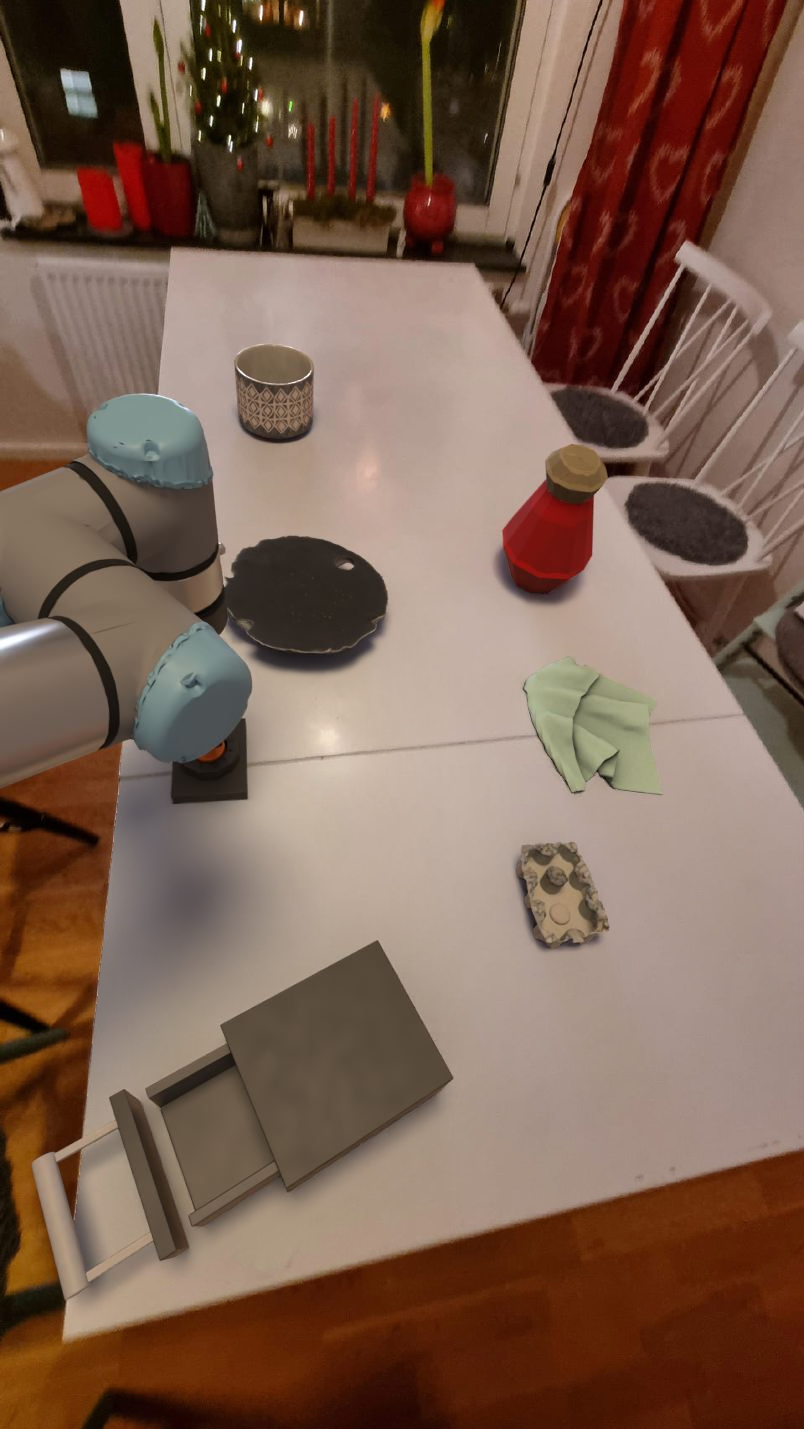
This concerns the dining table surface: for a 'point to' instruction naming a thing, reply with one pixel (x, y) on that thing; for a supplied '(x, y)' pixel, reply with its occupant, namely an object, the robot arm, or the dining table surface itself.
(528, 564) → the bottle
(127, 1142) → the open sliding drawer
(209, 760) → the button
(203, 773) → the control block
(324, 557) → the board
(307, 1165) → the grey drawer box
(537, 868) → the egg carton
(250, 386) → the planter
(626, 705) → the cloth
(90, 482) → the robot arm
